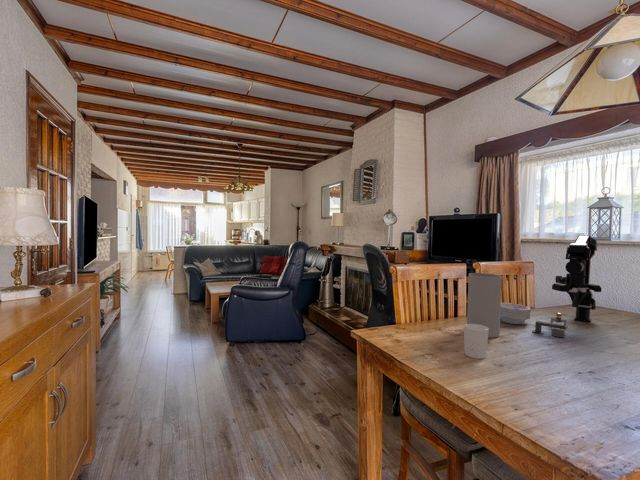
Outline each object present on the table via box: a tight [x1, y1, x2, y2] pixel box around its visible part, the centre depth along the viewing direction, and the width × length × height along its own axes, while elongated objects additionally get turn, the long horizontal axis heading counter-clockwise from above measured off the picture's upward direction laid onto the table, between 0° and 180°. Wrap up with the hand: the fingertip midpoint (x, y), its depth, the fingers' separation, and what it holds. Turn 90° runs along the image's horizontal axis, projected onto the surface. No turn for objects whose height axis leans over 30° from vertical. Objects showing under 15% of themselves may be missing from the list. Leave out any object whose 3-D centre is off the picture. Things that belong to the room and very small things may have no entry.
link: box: [550, 316, 568, 338], centre depth 150 cm, size 24×6×3 cm, turn 144°
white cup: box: [463, 323, 489, 360], centre depth 118 cm, size 8×8×10 cm
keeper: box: [531, 320, 567, 335], centre depth 144 cm, size 4×12×5 cm, turn 50°
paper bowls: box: [500, 302, 531, 325], centre depth 163 cm, size 15×15×8 cm
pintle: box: [554, 311, 568, 329], centre depth 157 cm, size 7×7×6 cm
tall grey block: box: [466, 272, 503, 339], centre depth 143 cm, size 12×12×25 cm
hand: (575, 306), depth 152 cm, fingers closed
